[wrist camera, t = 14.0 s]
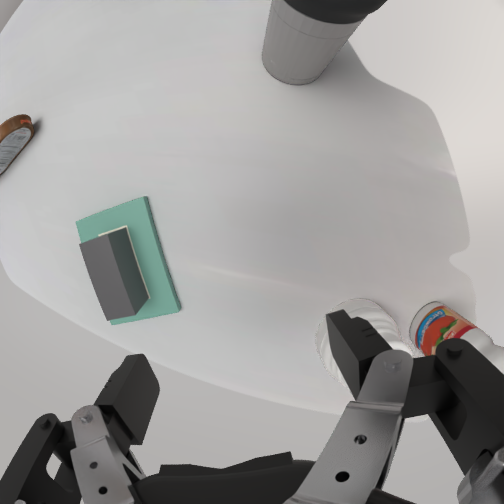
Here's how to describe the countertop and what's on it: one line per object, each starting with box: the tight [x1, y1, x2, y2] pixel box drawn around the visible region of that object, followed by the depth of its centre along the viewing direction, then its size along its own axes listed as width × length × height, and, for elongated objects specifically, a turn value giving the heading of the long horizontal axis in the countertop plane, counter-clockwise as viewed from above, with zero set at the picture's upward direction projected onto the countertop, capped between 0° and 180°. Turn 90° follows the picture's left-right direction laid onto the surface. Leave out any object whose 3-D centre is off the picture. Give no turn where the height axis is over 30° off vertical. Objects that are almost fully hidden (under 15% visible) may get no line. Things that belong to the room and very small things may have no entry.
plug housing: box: [79, 227, 149, 321], centre depth 34 cm, size 11×5×6 cm, turn 14°
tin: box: [0, 114, 34, 174], centre depth 29 cm, size 15×3×8 cm, turn 120°
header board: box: [76, 196, 181, 325], centre depth 36 cm, size 17×12×5 cm
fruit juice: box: [410, 302, 504, 374], centre depth 30 cm, size 9×9×28 cm
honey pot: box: [315, 299, 413, 394], centre depth 34 cm, size 13×13×18 cm
